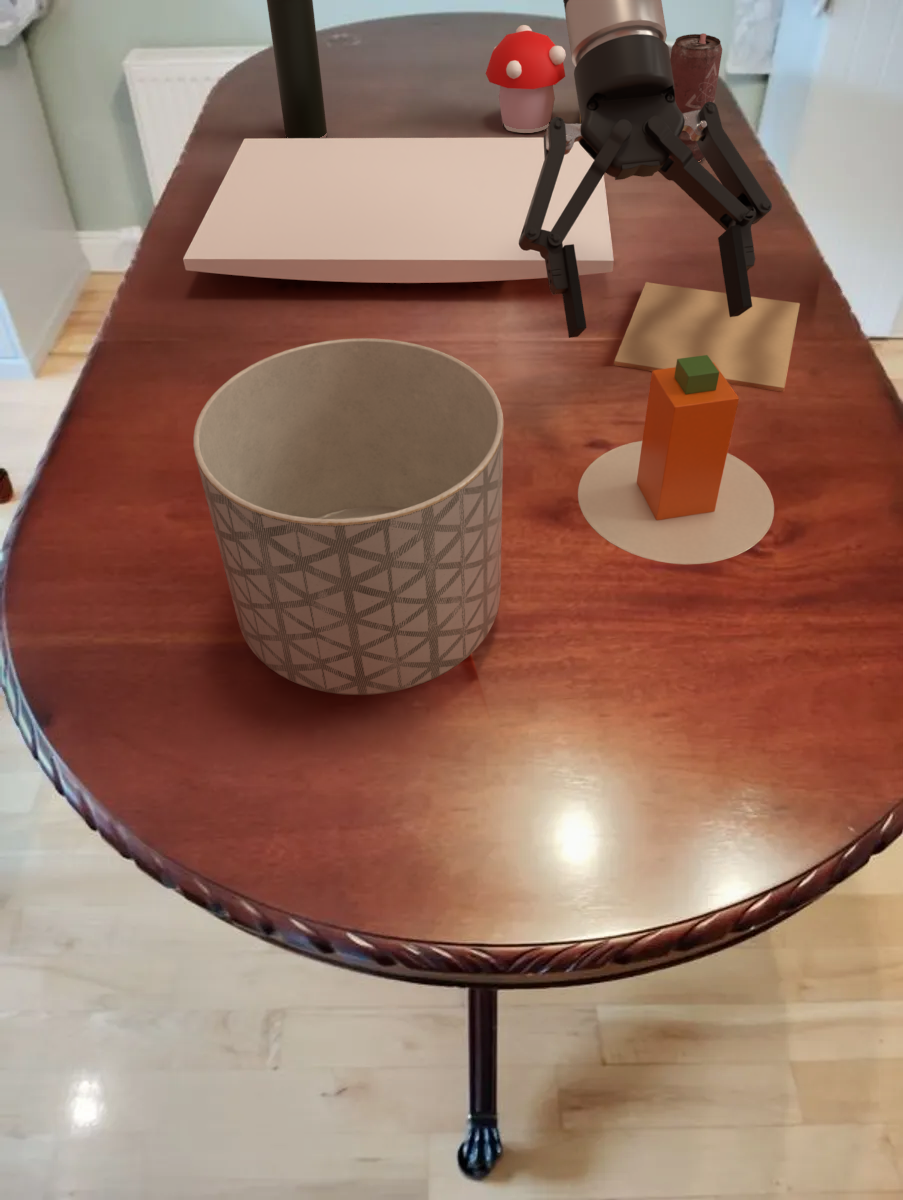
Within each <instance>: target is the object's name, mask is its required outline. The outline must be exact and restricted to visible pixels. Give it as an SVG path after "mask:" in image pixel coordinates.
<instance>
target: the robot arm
mask: <svg viewBox="0 0 903 1200" xmlns="http://www.w3.org/2000/svg"><path fill="white" fill-rule="evenodd" d="M662 1H663V0H562V2H563V7H564V13H565V14H564V15H565V21H566V22H565V23H566V28H567V35H568V42H569V49H570V55H571V62H572V64H573V65H574V66H575V67H574V70H573V78H574V84H575V91H576V92H575V93H576V97H577V103H578V104H577V105H578V111H579V117H580V116H581V123H580V122H579V123H569V122H567V123H566V121H565V120H564V119H563V118H562V117H560V116H555V117H553V118H551V120H550V124H549V126H548V128H547V129H546V130H545V133H544V135H543V138H544V163H543V166H542V169H541V172H540V175H539V179H538V182H537V185H536V188H535V191H534V194H533V198H532V201H531V204H530V207H529V210H528V213H527V217H526V220H525V223H524V226H523V229H522V232H521V236H520V239H519V247H520V248H521V249H522V250H525V251H528V250H535V251H538V252H540V255H541V257H542V258H544V259H545V263H546V270H547V276H548V278H547V282H548V288H549V291H550V293H551V294H552V296H555V295H561V296H562V301H563V307H564V314H565V315H564V316H565V321H566V322H565V323H566V328H567V335H568V338H578V337H579V336H581V334H582V333H583V332H584V331H586V329H587V328H588V327H587V321H586V314H585V309H584V308H585V307H584V302H583V301H584V300H583V294H582V288H581V281H580V275H579V274H578V268H577V261H576V255H575V248H574V244H572V245H564V247H563V244H562V242H563V240H564V239H565V237H566V236H567V234H568V232H569V231H570V229H571V227H572V226H573V224H574V222H575V221H576V219H577V218H578V216H579V214H580V213H581V211H582V209H583V208H584V206H585V204H586V203H587V201H588V200H589V198H590V196H591V195H592V193H593V191H594V190H595V188H596V186H597V185H598V183H599V182H600V180H601V178H602V177H603V175H604V176H605V174H606V175H608V176H610V177H612V178H614V180H615V181H618V180H619V181H621V180H625V179H628V178H630V177H633V176H635V177H642V178H646V177H653V176H654V174H655V173H657V172H659V174H661V176H662V177H664V178H665V179H666V180H667V181H672V182H674V183H675V184H676V185H677V186H678V187H679V188H680V189H681V190H682V191H684V193H685V194H686V195H687V196H688V197H690V198H691V199H692V201H694V202H695V203H696V204H697V205H698V206H699V207H700V208H701V209H702V210H703V211H704V212H706V213H707V214H708V215H709V217H711V219H713V220H714V221H715V222H716V223H717V224H718V225H719V226H720V227H721V228H722V229H724V232H723V233H721V235H720V236H719V237H717V241H718V246H719V247H718V248H719V254H720V261H721V262H720V263H721V267H722V274H723V275H722V276H723V281H724V286H725V287H724V289H725V293H726V295H727V302H728V309H729V315H730V317H735V316H739V315H741V314H742V313H744V312H745V311H746V310H748V309H749V308H751V307H752V301H751V297H752V295H751V288H750V282H749V275H748V274H749V273H748V271H749V270H750V269H752V268H753V267H754V266H755V262H756V253H755V247H754V240H753V233H752V226H753V225H755V224H757V223H758V222H759V221H761V220H762V219H763V218H764V217H766V215H768V213H769V212H771V211H772V208H773V203H772V201H771V200H770V198H769V197H768V195H767V194H766V192H765V190H764V189H763V187H762V186H761V185H760V183H759V182H758V180H757V178H756V176H755V175H754V174H753V172H752V171H751V169H750V167H749V166H748V165H747V162H746V161H745V160H744V158H743V157H742V156H741V154H740V153H739V150H738V149H737V147H735V145H734V143H733V142H732V140H731V139H730V137H729V135H728V134H727V132H726V131H725V130H724V127H723V124H722V120H721V117H720V113H719V108H718V106H717V104H716V103H715V102H714V103H713V102H707V103H705V104H704V106H703V107H702V108H701V109H699V110H695V111H691V112H686V113H682V112H681V111H680V110H679V108H678V106H677V104H676V101H675V88H674V80H673V74H672V67H671V60H670V58H671V53H670V48H669V46H668V44H667V43H666V41H667V37H668V33H667V26H666V21H665V20H666V19H665V13H664V7H663V2H662ZM682 131H686V132H687V133H688V134H689V135H690V139H691V140H692V141H697V144H698V147H699V149H700V151H701V153H702V154H703V156H704V159H705V161H706V162H707V164H708V165H709V167H710V169H712V171H713V173H714V174H715V176H716V177H715V176H714V175H713V174H712V173H711V172H710V171H709V170H708V169H706V167H705V166H703V165H702V163H701V162H698V161H697V160H696V159H695V158H694V157H693V153H692V151H691V150H690V148H688V147H687V146H686V145H685V144H684V143H683V142H682V141H681V140H680V139H679V136H680V134H681V132H682ZM577 141H579V144H580V145H581V146H582V147H583V149H584V150H585V151H586V152H587V153H588V154H589V155H590V156H591V157H592V158H593V159H594V162H593V163H592V165H591V167H590V168H589V170H588V171H587V173H586V175H585V176H584V178H583V180H582V181H581V183H580V184H579V186H578V188H577V189H576V191H575V193H574V194H573V196H572V198H571V199H570V201H569V202H568V204H567V206H566V207H565V209H564V211H563V212H562V214H561V216H560V217H559V219H558V220H557V222H556V224H555V225H554V227H553V229H552V230H551V232H550V231H546V230H542V229H541V228H542V225H543V222H544V219H545V215H546V212H547V209H548V206H549V203H550V200H551V196H552V193H553V190H554V187H555V184H556V181H557V177H558V174H559V171H560V168H561V165H562V161H563V158H564V155H566V154H568V153H569V152H570V150H571V148H572V147H573V144H574V142H577ZM669 156H671V157H673V159H674V161H673V160H671V159H670V158H669Z"/></svg>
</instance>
